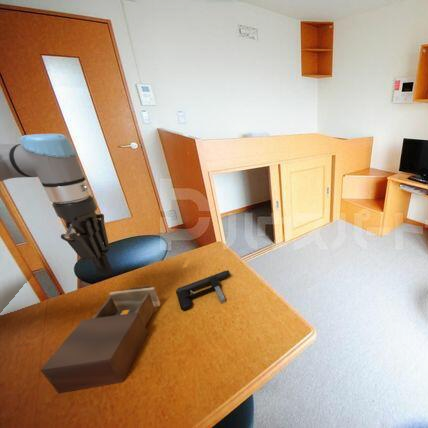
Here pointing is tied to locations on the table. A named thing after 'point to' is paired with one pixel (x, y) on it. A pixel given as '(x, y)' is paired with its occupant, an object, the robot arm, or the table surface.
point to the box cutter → (125, 312)
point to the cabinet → (96, 353)
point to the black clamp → (215, 286)
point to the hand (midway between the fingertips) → (106, 273)
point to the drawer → (131, 302)
